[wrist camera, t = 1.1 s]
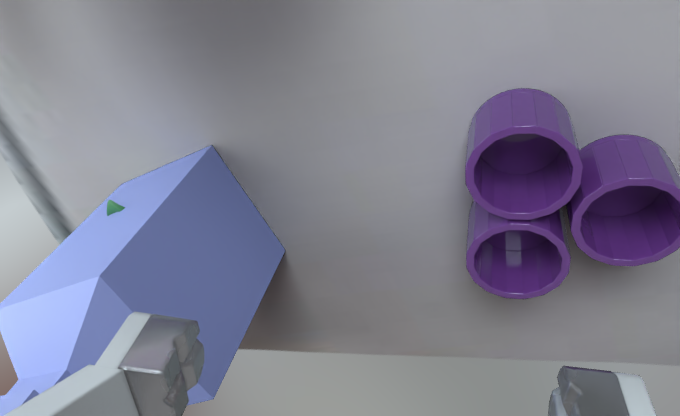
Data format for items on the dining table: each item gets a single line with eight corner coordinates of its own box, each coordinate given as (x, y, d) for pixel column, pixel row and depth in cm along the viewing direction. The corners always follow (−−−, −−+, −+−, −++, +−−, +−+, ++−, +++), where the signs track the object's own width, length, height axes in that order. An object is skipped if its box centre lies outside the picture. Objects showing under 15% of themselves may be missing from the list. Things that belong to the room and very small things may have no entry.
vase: (87, 160, 44) (-592, 734, 17) (189, 111, 39) (-553, 828, 11) (189, 283, 50) (-182, 851, 23) (289, 255, 45) (-36, 947, 18)
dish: (681, 133, 32) (707, 178, 28) (660, 218, 35) (681, 268, 31) (568, 135, 33) (577, 178, 29) (559, 215, 37) (566, 263, 33)
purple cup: (566, 179, 35) (575, 225, 31) (558, 252, 39) (565, 302, 35) (469, 179, 37) (466, 222, 33) (469, 249, 40) (466, 296, 36)
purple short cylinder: (577, 85, 31) (588, 124, 28) (567, 175, 35) (575, 221, 31) (468, 89, 33) (464, 127, 29) (469, 175, 37) (465, 218, 33)
